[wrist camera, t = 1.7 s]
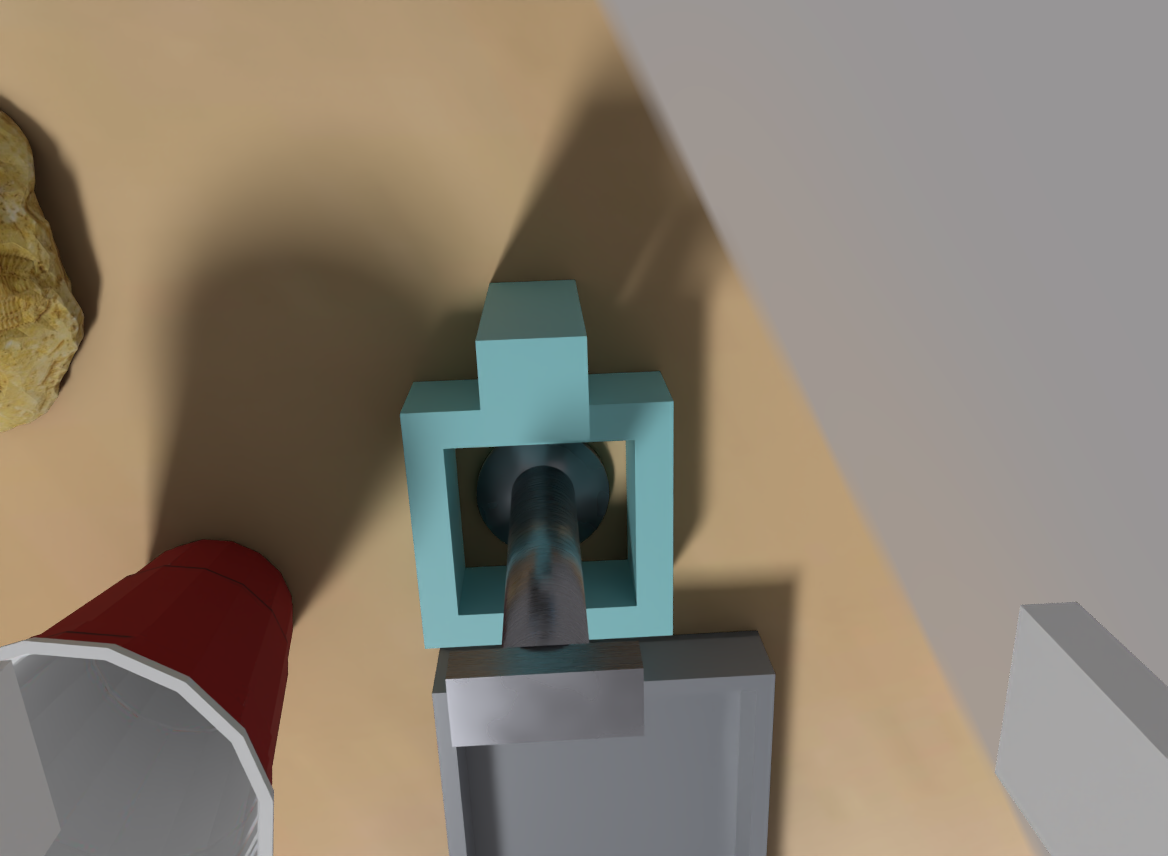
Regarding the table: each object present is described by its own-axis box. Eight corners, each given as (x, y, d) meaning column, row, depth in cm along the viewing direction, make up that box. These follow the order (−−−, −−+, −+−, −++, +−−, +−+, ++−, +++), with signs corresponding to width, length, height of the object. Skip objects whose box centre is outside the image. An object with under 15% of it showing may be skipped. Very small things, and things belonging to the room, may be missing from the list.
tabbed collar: (403, 286, 32) (363, 345, 24) (659, 276, 32) (697, 331, 25) (435, 598, 36) (408, 730, 29) (660, 586, 36) (692, 714, 29)
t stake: (472, 431, 34) (435, 626, 21) (606, 425, 34) (647, 614, 22) (482, 550, 36) (453, 795, 23) (609, 544, 36) (648, 783, 23)
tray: (439, 647, 37) (432, 693, 34) (757, 630, 37) (775, 674, 35) (469, 943, 43) (464, 1003, 40) (745, 925, 43) (760, 983, 40)
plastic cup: (252, 422, 33) (106, 589, 22) (408, 643, 37) (351, 884, 26) (12, 550, 35) (-242, 770, 23) (185, 752, 38) (36, 1027, 27)
